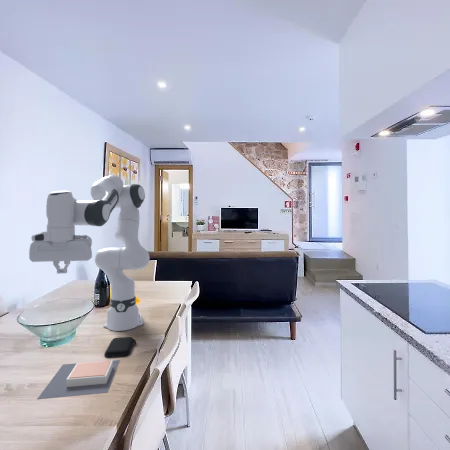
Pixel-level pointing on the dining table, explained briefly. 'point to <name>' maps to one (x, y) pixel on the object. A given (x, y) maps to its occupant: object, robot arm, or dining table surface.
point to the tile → (90, 373)
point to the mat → (61, 390)
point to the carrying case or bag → (120, 347)
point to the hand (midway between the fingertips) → (62, 273)
